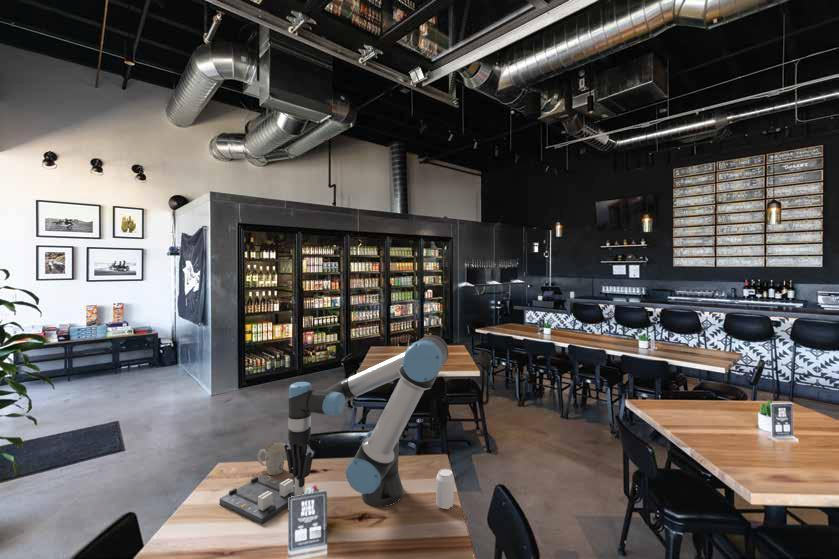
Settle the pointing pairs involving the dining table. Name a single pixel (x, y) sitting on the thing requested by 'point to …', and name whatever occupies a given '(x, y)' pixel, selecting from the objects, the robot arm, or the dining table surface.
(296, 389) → the robot arm
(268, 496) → the fader
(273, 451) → the mug
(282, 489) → the fader
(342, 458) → the dining table surface
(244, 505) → the console
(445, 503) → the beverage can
